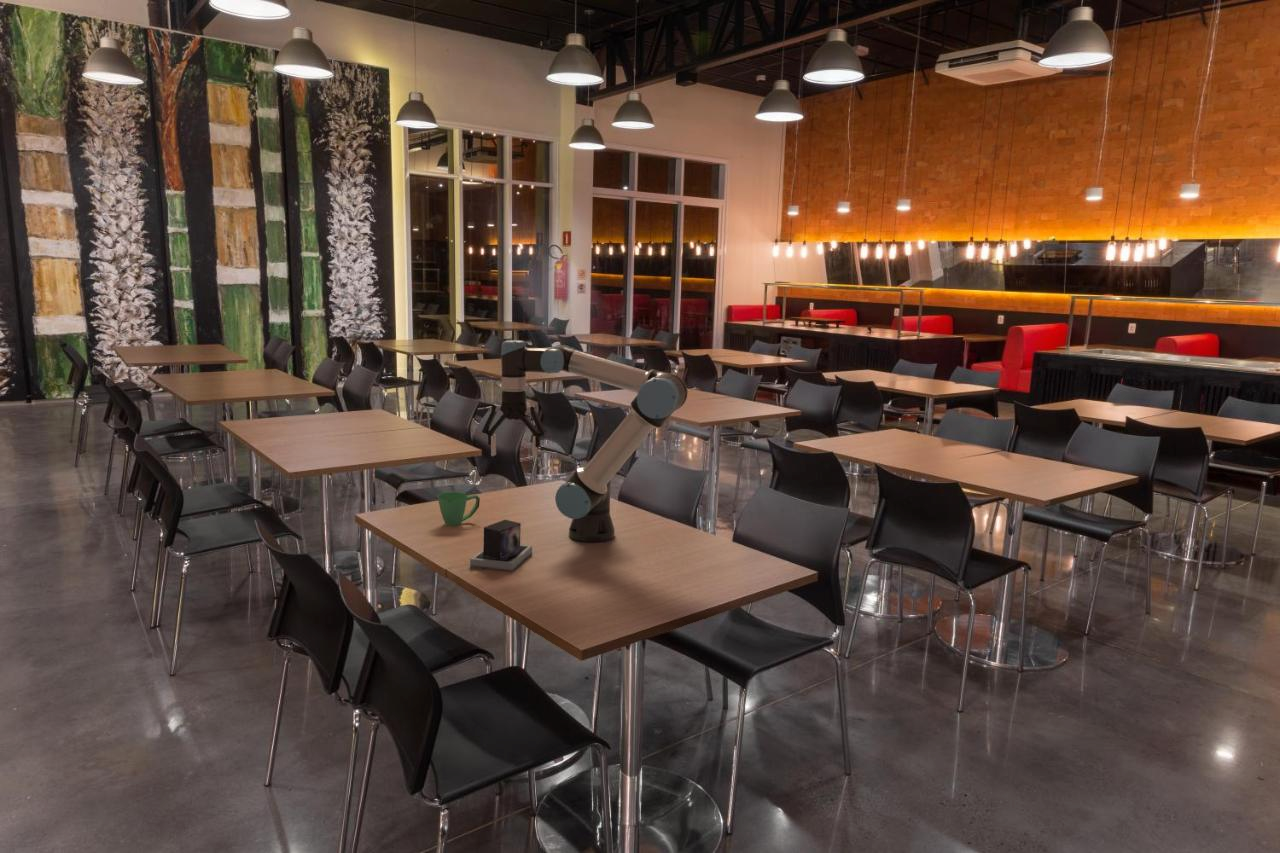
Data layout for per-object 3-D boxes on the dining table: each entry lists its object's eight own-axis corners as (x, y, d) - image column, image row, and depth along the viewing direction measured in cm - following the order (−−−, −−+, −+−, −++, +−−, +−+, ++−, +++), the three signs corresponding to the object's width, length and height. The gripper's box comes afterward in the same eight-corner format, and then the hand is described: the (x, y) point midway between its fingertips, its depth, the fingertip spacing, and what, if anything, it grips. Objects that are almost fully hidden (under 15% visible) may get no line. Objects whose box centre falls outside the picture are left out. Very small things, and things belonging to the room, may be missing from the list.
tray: (532, 553, 260) (532, 545, 259) (512, 571, 243) (512, 563, 243) (492, 549, 262) (492, 541, 262) (470, 567, 246) (470, 558, 245)
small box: (499, 565, 246) (499, 530, 245) (482, 561, 249) (482, 527, 248) (521, 555, 256) (521, 522, 254) (504, 551, 259) (504, 518, 257)
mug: (444, 529, 281) (444, 500, 280) (433, 522, 289) (433, 494, 287) (485, 523, 289) (485, 495, 288) (473, 517, 297) (473, 489, 296)
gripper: (555, 389, 267) (555, 455, 270) (479, 387, 270) (480, 452, 274) (549, 392, 259) (549, 460, 263) (471, 390, 263) (472, 456, 266)
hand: (514, 456), depth 268 cm, fingers open, 13 cm apart
